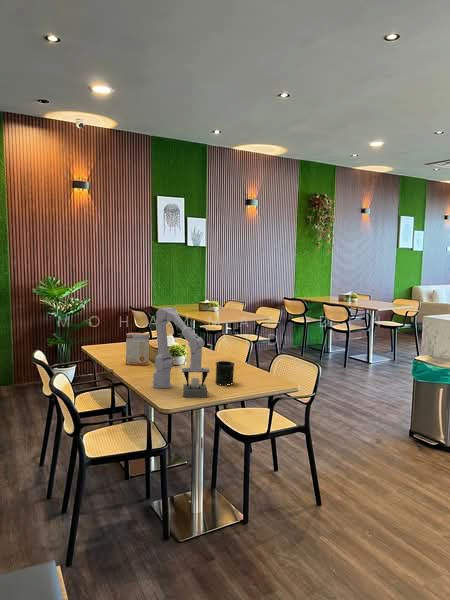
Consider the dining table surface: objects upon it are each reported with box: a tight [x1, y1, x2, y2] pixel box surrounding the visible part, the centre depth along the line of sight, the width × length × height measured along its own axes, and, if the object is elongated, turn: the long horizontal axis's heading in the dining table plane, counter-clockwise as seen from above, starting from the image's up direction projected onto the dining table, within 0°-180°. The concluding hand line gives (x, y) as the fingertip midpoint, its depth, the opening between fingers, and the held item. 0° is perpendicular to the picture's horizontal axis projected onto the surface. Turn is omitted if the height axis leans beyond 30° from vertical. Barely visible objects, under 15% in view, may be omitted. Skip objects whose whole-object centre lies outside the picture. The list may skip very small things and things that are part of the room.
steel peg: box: [190, 377, 200, 389], centre depth 238 cm, size 4×4×8 cm
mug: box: [215, 360, 235, 386], centre depth 261 cm, size 11×15×12 cm
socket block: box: [183, 383, 208, 398], centre depth 238 cm, size 12×12×4 cm
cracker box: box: [125, 332, 150, 367], centre depth 296 cm, size 14×6×21 cm, turn 84°
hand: (195, 385), depth 237 cm, fingers open, 7 cm apart
